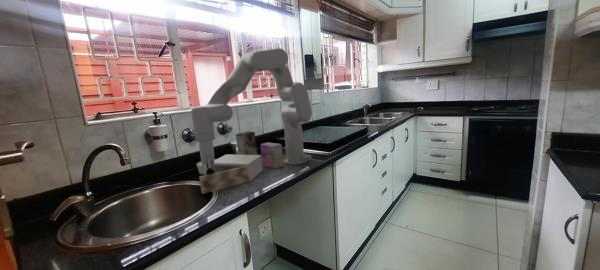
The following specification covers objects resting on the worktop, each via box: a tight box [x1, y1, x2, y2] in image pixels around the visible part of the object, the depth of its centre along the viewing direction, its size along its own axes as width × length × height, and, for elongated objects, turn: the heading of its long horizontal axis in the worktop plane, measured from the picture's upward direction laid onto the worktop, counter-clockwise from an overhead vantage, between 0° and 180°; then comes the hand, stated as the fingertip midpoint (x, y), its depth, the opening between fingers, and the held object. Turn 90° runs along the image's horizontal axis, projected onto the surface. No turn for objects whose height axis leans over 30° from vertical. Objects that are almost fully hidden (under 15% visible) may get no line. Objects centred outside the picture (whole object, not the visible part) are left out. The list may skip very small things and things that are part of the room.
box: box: [260, 141, 284, 169], centre depth 133 cm, size 10×6×12 cm, turn 47°
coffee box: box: [235, 131, 258, 155], centre depth 146 cm, size 9×6×16 cm
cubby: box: [213, 153, 264, 182], centre depth 123 cm, size 20×14×8 cm
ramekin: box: [196, 158, 217, 176], centre depth 131 cm, size 11×11×5 cm
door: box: [199, 166, 250, 195], centre depth 107 cm, size 20×3×7 cm, turn 122°
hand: (211, 178), depth 107 cm, fingers closed
